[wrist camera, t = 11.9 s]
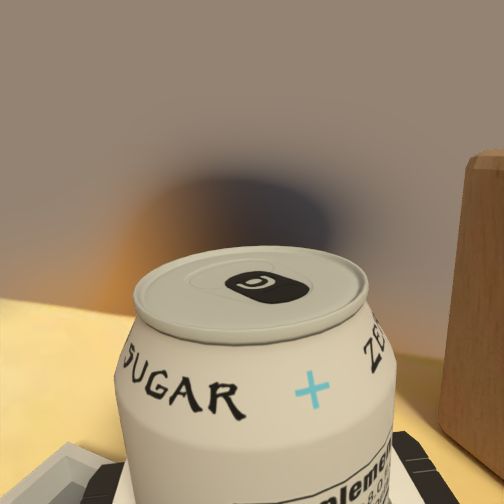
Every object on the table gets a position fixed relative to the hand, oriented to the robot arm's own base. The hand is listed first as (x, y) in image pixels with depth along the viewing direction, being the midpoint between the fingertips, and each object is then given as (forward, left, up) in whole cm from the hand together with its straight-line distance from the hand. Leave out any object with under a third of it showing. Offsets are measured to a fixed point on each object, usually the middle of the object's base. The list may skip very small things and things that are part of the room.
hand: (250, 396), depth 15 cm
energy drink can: (+3, -5, -8) cm, 10 cm away
